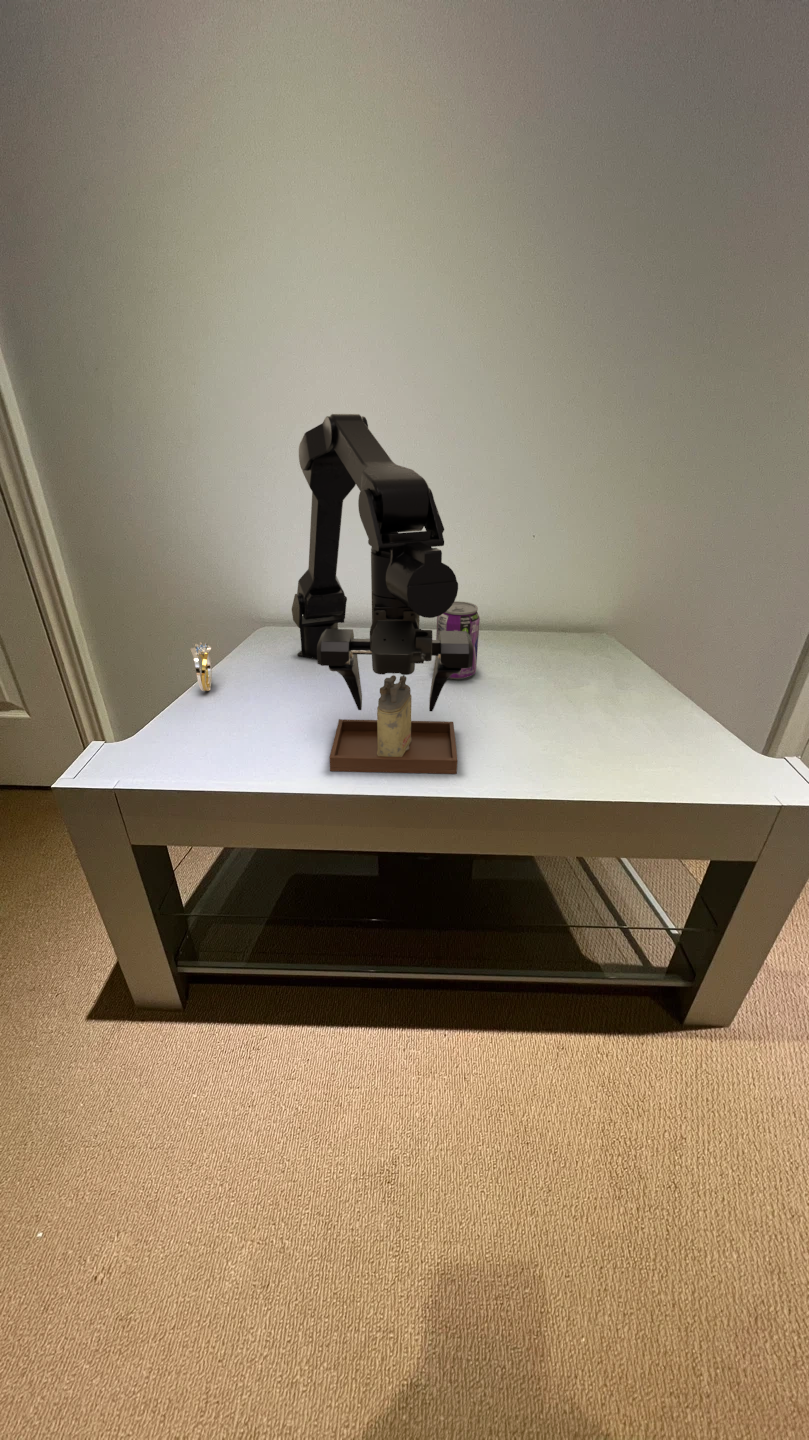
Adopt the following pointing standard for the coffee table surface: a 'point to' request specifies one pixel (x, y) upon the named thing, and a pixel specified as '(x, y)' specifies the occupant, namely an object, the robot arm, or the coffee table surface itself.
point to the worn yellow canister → (394, 718)
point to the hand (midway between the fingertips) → (395, 709)
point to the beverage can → (461, 629)
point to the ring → (203, 665)
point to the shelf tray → (425, 755)
